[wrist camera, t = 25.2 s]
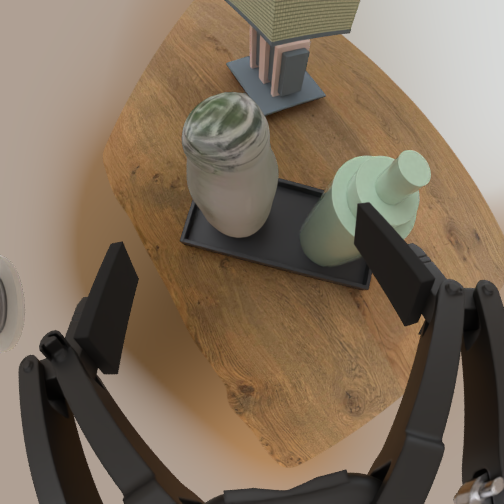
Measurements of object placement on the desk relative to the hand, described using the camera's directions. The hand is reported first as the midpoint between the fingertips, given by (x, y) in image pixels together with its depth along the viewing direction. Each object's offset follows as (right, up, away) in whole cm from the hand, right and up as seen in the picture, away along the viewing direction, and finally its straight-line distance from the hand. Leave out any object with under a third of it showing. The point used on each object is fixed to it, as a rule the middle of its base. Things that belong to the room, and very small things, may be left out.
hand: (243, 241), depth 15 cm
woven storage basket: (+5, +34, +37) cm, 51 cm away
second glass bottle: (+13, +2, +31) cm, 34 cm away
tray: (+6, +4, +33) cm, 33 cm away
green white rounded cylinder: (-2, +6, +32) cm, 33 cm away
